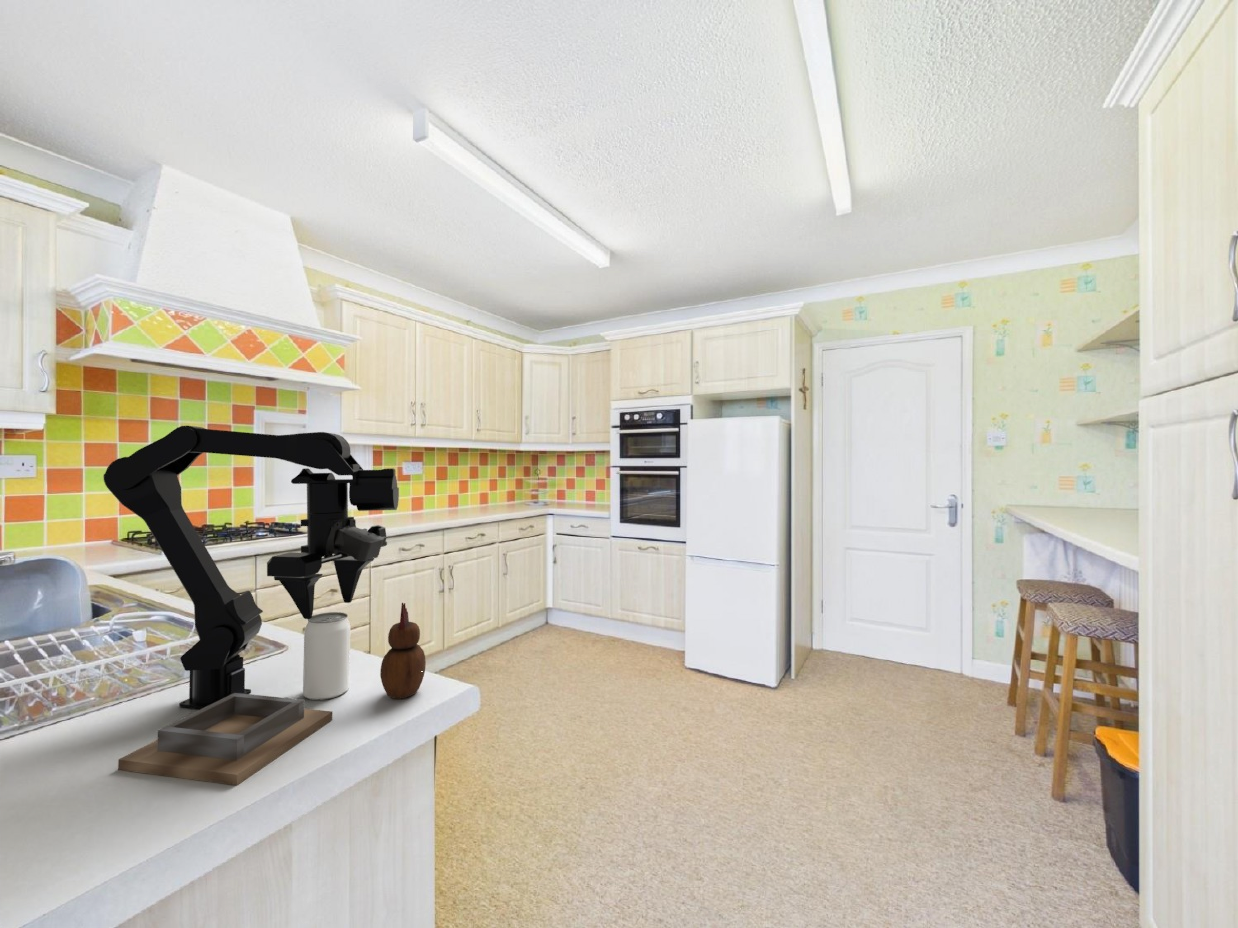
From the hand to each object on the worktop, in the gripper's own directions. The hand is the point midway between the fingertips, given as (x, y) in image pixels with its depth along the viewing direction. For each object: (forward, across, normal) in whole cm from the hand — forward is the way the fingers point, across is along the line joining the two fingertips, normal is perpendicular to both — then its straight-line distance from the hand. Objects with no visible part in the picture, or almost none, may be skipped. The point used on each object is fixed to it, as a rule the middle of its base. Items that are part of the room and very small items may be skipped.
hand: (328, 610), depth 87 cm
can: (+13, 0, +1) cm, 13 cm away
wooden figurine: (+14, +2, -11) cm, 18 cm away
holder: (+13, -16, +2) cm, 21 cm away
